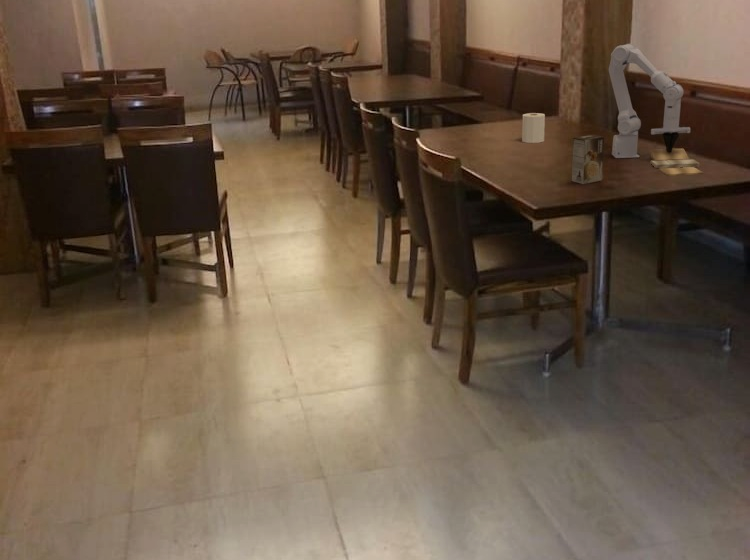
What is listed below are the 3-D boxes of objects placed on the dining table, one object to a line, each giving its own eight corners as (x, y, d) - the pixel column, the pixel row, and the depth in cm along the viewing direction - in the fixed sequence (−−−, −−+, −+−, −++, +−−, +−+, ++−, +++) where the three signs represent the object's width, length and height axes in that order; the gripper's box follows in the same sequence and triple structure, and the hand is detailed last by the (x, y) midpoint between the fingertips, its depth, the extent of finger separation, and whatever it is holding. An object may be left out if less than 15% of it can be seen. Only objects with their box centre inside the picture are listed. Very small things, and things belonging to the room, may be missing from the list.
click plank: (655, 163, 299) (655, 160, 298) (649, 152, 306) (650, 149, 305) (689, 162, 298) (689, 159, 297) (683, 151, 305) (683, 148, 304)
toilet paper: (537, 138, 359) (537, 112, 355) (548, 141, 350) (549, 115, 346) (517, 140, 356) (518, 114, 352) (528, 144, 347) (529, 117, 343)
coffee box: (590, 177, 283) (592, 134, 277) (602, 180, 277) (605, 136, 272) (571, 181, 279) (572, 137, 273) (583, 184, 273) (585, 139, 268)
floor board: (656, 168, 291) (656, 164, 290) (650, 164, 298) (650, 159, 298) (699, 167, 290) (699, 162, 289) (692, 162, 297) (692, 158, 296)
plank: (667, 177, 280) (667, 174, 279) (658, 171, 288) (659, 168, 288) (703, 175, 280) (703, 172, 279) (693, 170, 288) (693, 166, 288)
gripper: (655, 119, 294) (652, 154, 299) (694, 117, 293) (691, 153, 298) (650, 116, 301) (648, 151, 306) (688, 115, 300) (685, 149, 305)
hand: (668, 151), depth 302 cm, fingers closed, pressing on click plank
